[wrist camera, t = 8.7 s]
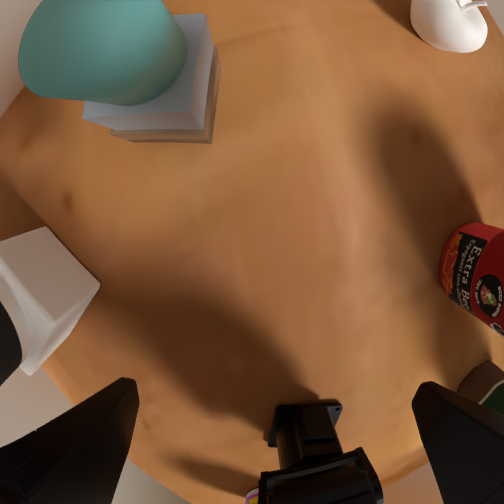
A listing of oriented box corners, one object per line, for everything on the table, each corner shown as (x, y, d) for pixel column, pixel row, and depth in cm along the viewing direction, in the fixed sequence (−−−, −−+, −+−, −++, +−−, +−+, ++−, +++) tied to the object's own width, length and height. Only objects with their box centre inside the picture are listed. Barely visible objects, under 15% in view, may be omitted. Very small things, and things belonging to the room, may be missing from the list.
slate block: (202, 129, 14) (189, 112, 10) (117, 130, 14) (82, 118, 10) (213, 49, 13) (205, 13, 9) (130, 53, 12) (103, 25, 8)
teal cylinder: (207, 31, 9) (183, -28, 4) (153, 121, 10) (93, 118, 5) (123, 6, 8) (69, -39, 3) (76, 89, 9) (0, 81, 4)
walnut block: (211, 144, 18) (204, 134, 14) (134, 142, 17) (110, 134, 14) (221, 70, 16) (216, 46, 13) (145, 71, 16) (126, 50, 12)
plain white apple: (458, 75, 16) (516, 56, 8) (395, 39, 16) (449, -1, 8) (453, 24, 15) (501, -2, 7) (395, -10, 14) (436, -51, 6)
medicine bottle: (46, 223, 18) (-66, 264, 7) (103, 283, 20) (7, 370, 8) (20, 281, 19) (-67, 337, 8) (70, 334, 21) (-4, 418, 9)
